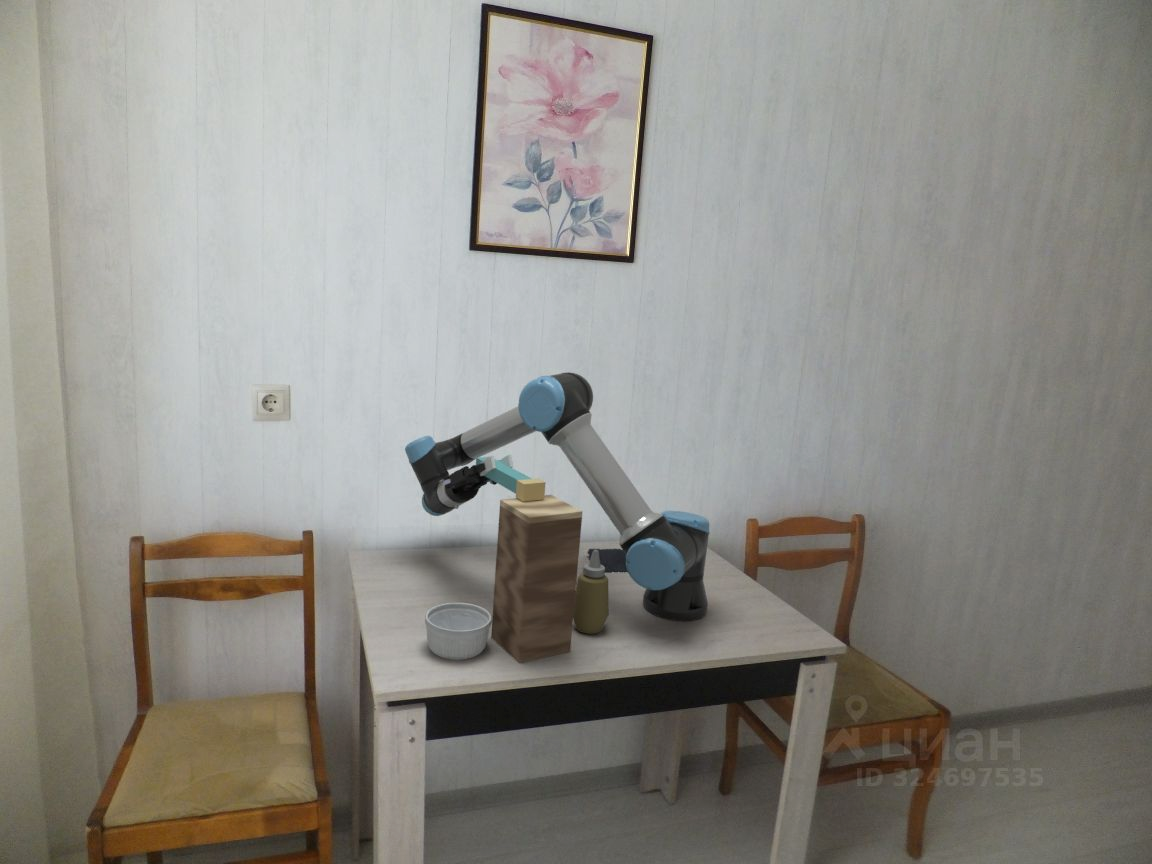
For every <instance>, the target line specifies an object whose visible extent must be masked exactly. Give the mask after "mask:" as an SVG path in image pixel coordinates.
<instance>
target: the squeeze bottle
mask: <svg viewBox="0 0 1152 864" xmlns="http://www.w3.org/2000/svg"><path fill="white" fill-rule="evenodd" d="M589 559H590V558H589ZM582 570H583V571H582V573H581V574H579V575H578V576H577V577H578V578H577V580H576V592H575V603H574V614H573V623H574V627H575V630H577V631H578V632H581V633H583V634H587V635H589V634H590V635H591V634H593V635H594V634H598V633H600V632H602V631H603V628H604V626H605V624H606V621H607V619H608V617H609V613H610V612H609V611H610V609H609V608H610V607H609V606H610V605H609V579H608V577H607V576H606V575H605V574H606V573H605V567H604V566H603V565H601V564H600V558H599V551H598V550H593V553H592V556H591V559H590V560H589V562H588V563H585V564H584V565H583V568H582Z"/></svg>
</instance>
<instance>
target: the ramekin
mask: <svg viewBox="0 0 1152 864" xmlns="http://www.w3.org/2000/svg"><path fill="white" fill-rule="evenodd" d="M424 623H425V626H426V640H427V641H426V642H427V646H428V648H429V650H431V652H432V653H433V654H435V655H436V656H438V657H439V658H443V659H446V660H453V661H454V660H457V661H458V660H459V661H460V660H461V661H462V660H467V659H468V658H469V659H472V658H475V657H477V656H479V655H480V654H481V653H482V652H483V651H484V649H485V648H486V645H487V643H488V642H487V641H488V638H489V634H490V633H489V632H490V627H492V615H491V613H490V612H489V611H488V610H487V609H485V608H484V607H482V606H479V605H476V604H472V603H469V602H468V603H466V602H447V603H442V604H438V605H435V606H433V607H432V608H430V609H428V610H427V612H426V614H425V618H424ZM469 659H468V660H469Z"/></svg>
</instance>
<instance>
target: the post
mask: <svg viewBox="0 0 1152 864" xmlns="http://www.w3.org/2000/svg"><path fill="white" fill-rule="evenodd" d="M582 521H583V510H580V509H579V508H577V507H575V506H574V505H572V504H570V503H568V502H566V501H564V500H562V499H560V498H558V497H556V496H554V495H552V494H545V496H544V499H542V500H532V501H521V500H519V499H518V498H516V497H515V498H514V497H512V498H504V499H500V501H499V515H498V527H497V528H498V529H497V543H496V559H495V562H496V563H495V575H494V590H493V602H492V603H493V606H492V616H491V633H490V638H491V639H492V640H493V641H494V642H495V643H496V644H498V646H499V647H501V648H502V649H503V650H504V651H505V652H506V653H507V654H509V656H511V657H512V658H513V659H514V660H515V661H516V662H518V663H519V664H521V663H524V662H530V661H533V660H538V659H541V658H542V659H543V658H548V657H552V656H556V655H561V654H565V653H569V652H571V648H572V647H571V645H572V635H573V625H574V624H573V623H574V619H573V614H574V603H575V592H576V586H577V581H578V578H577V577H578V567H579V554H580V546H581V544H580V543H581V536H582V535H581V531H582Z"/></svg>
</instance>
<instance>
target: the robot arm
mask: <svg viewBox="0 0 1152 864" xmlns="http://www.w3.org/2000/svg"><path fill="white" fill-rule="evenodd" d="M520 391H521V392H520V394H519V399H518V404H517V406H516V407H514V408H511V409H510V410H508V411H505V412H503V413H501V414H499V415H497V416H495V417H493V418H491V419H489V420H486V421H485V422H483V423H481V424H478V425H476V426H474V427H473V428H471V429H469V430H467V431H464V432H462V433H459V434H458V435H456V436H454V437H452V438H450V439H446V440H443V441H442V440H441V441H438V442H436V441H435V440H434V438H433V437H432V436H431V435H423V436H422V437H419V438H417V439H414V440H412V441H410V442H408V444H407V445H406V446H405V448H404V451H405V454H406V456H407V459H408V463H409V464H410V466H411V467H412V470H413V472H414V474H415V476H416V479H417V481H418V482H419V485H420V487H421V491H422V493H423V494H422V496H421V505H422V508H423V509H424V511H425V512H426V513H428V514H429V515H430V516H435V517H439V516H443V515H445V514H448V513H450V512H452V511H453V510H455V509H456V510H457V509H459V507H460V506H461V505H464V504H465V503H467V502H469V501H471V500H472V499H474V498H475V497H476V496H477V494H478V493H479V490H480V489H481V488H482V487H484V486H486V485H487V484H488V483H489V484H490V485H497V484H498V483H496V482H494V481H493V480H491V479H489V478H487V477H486V476H484V475H485V474H487V473H489V472H490V471H492V470H494V469H495V468H496V466H495V460H494V459H495V456H494V455H491V456H487V457H488V458H487V459H485V460H484V461H482V462H481V463H479V464H478V465H476V464H473V465H472V466H470V467H469V466H467V465H468V464H470V463H472V462H474V461H476V458H479V457H484V456H485V455H487V454H490V453H492V452H495V451H496V450H498V449H500V448H502V447H504V446H505V447H506V446H507V445H509V444H512V443H514V442H515V441H518V440H520V439H522V438H525V437H527V436H529V435H531V434H533V433H535V432H539V433H541V434H542V435H543V437H544V438H545V440H546V442H547V443H548V444H549V445H553V446H558V447H559V448H560V449H561V451H562V452H563V454H564V455H565V457H566V458H567V460H568V461H569V462H570V464H571V465H572V466H573V468H574V469H575V471H576V472H577V474H578V475H579V477H580V479H581V480H582V481H583V483H584V484H585V486H586V487H587V488H588V489H589V491H590V492H591V494H592V495H593V497H594V498H595V500H596V501H597V503H598V504H599V505H600V507H601V508H602V510H603V512H604V513H605V514H606V515H607V517H608V518H609V520H610V521H611V523H612V524H613V526H614V527H615V528H616V530H617V531H618V532H619V535H620V536H619V537H620V539H619V544H618V545H619V547H621V548H620V549H621V550H623V551H624V552H625V554H626V568H627V571H628V573H627V574H628V575H629V577H630V578H631V580H633V581H634V582H635V583H636V584H637V585H638V586H640V587H642V588H643V589H645V590H644V594H643V599H642V606H643V608H644V609H645V610H646V611H647V612H649V613H650V614H652V615H654V616H656V617H660V618H663V619H666V620H672V621H679V622H683V621H685V622H687V621H690V622H691V621H696V620H701V619H702V618H703V617H705V616H706V615H707V613H708V605H709V604H708V602H709V601H708V597H707V592H706V587H705V584H704V583H705V582H704V575H705V565H706V561H707V560H706V559H707V558H706V557H707V551H708V542H709V536H710V521H709V520H708V518H706V517H705V516H702V515H699V514H695V513H692V512H686V511H679V510H664V511H662V512H661V513H659V512H654V511H653V510H652V509H651V508H650V507H649V505H648V504H647V502H646V500H644V498H643V496H642V495H641V494H640V492H639V491H638V489H637V488H636V487H635V485H634V483H632V481H631V479H630V478H629V476H627V474H626V472H625V471H624V469H622V466H620V464H619V463H618V461H617V460H616V458H615V457H614V455H613V454H612V453H611V451H610V450H609V448H608V447H607V445H606V444H605V443H604V441H603V440H602V438H601V437H600V435H599V434H598V432H597V431H596V430H595V428H594V427H593V426H592V424H591V420H592V415H593V414H592V412H591V411H590V410H591V408H592V407H593V403H594V393H593V389H592V386H591V384H590V383H589V382H588V380H587V379H586V378H585V377H583V376H582V375H581V374H578V373H575V372H562V373H559V374H557V373H556V374H552V375H542V376H539V377H537V378H534V379H532V380H531V381H530V380H529V382H528V383H526V385H524V387H523V388H522V390H520ZM512 457H513V456H512V454H507V455H506V456H504V457H502V458H501V459H497V461H499V462H501V463H503V464H505V465H507V466H509V467H511V468H513V467H514V462H513V458H512ZM458 467H461V468H460V469H458V470H455V471H454V472H453V473H451V474H450V472H449V470H451V469H455V468H458Z"/></svg>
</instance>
